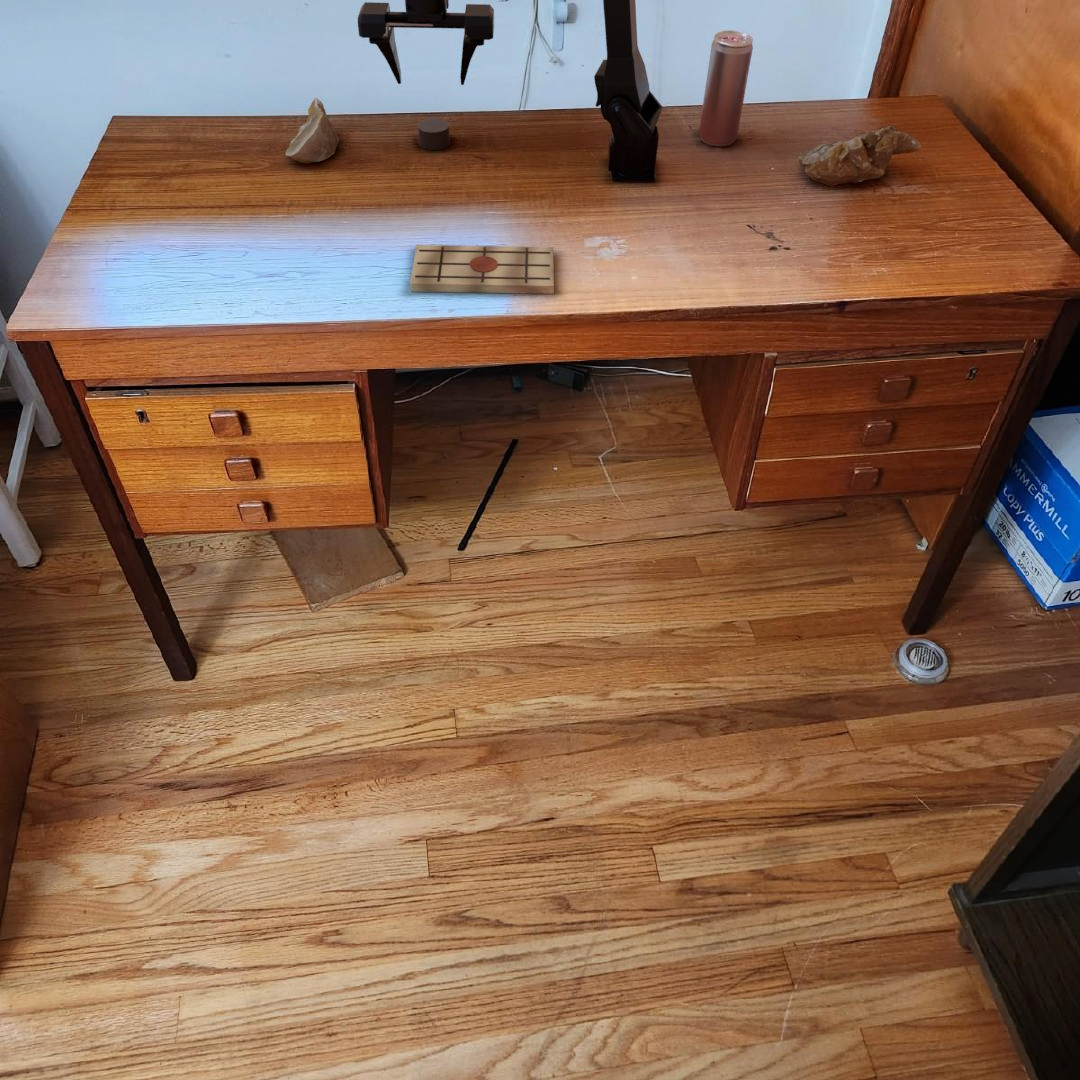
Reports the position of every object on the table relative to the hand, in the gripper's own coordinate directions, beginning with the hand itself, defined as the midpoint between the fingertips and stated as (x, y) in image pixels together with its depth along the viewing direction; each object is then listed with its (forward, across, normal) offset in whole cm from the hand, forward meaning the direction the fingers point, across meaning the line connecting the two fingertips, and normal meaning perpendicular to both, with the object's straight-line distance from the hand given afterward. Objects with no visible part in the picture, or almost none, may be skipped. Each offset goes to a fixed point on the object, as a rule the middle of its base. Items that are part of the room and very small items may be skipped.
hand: (431, 83), depth 141 cm
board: (+9, -9, +36) cm, 38 cm away
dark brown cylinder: (+9, 0, 0) cm, 9 cm away
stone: (+9, +18, +2) cm, 20 cm away
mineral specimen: (+9, -63, +8) cm, 64 cm away
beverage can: (+9, -44, -3) cm, 45 cm away
